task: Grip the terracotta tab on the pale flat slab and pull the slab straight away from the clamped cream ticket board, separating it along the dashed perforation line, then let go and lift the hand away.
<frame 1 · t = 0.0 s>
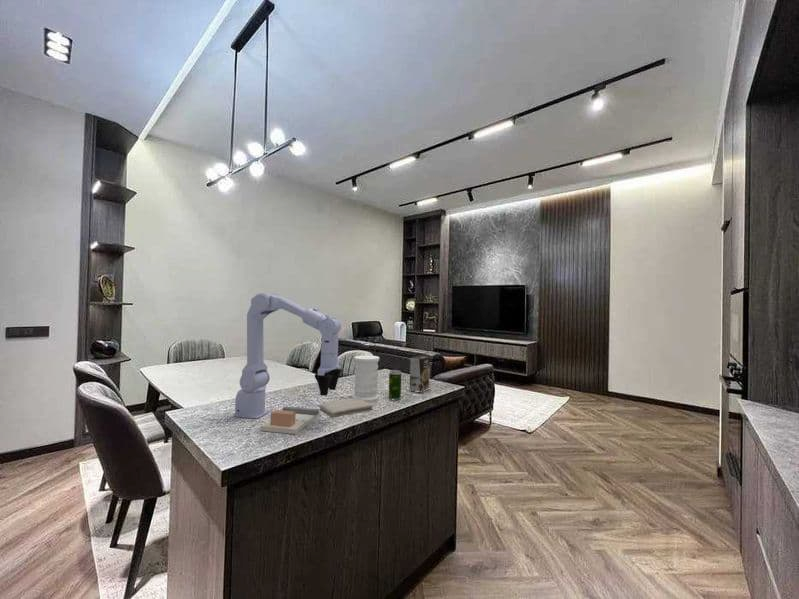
hand: (328, 392, 118), 10 cm above the countertop, tool pointing down, fingers open, 7 cm apart
coffee box: (419, 390, 165), on the countertop
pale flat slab: (283, 420, 110), point 3 cm above the countertop, slide at 0.0 cm
ticket board: (297, 418, 120), on the countertop
washcloth: (346, 411, 132), on the countertop
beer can: (394, 398, 149), on the countertop
decorative container: (365, 399, 148), on the countertop
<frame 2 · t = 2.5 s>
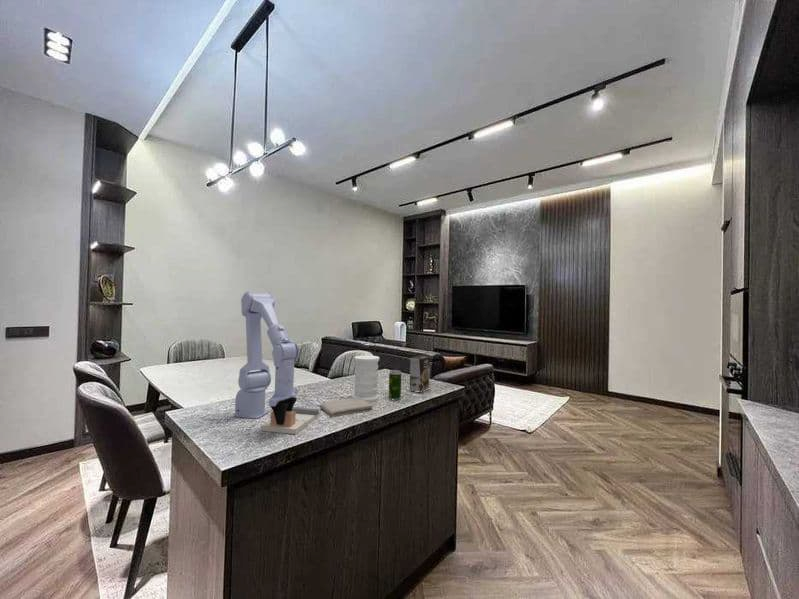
hand: (282, 422, 110), 2 cm above the countertop, tool pointing down, fingers closed on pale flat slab, 3 cm apart
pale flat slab: (283, 420, 110), point 3 cm above the countertop, slide at 0.0 cm, touching gripper
everything else where it was.
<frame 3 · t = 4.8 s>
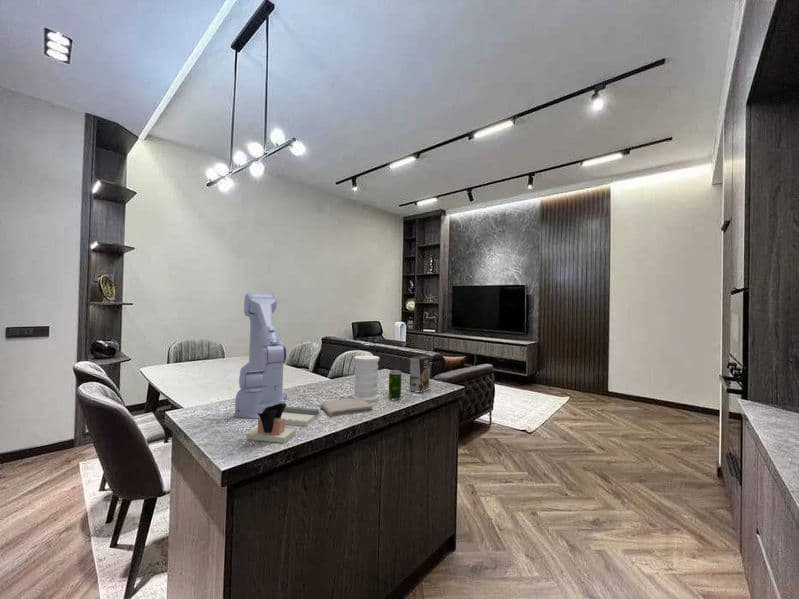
hand: (271, 430, 103), 2 cm above the countertop, tool pointing down, fingers closed on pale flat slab, 3 cm apart
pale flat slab: (272, 427, 103), point 3 cm above the countertop, slide at 7.0 cm, touching gripper
everything else where it was.
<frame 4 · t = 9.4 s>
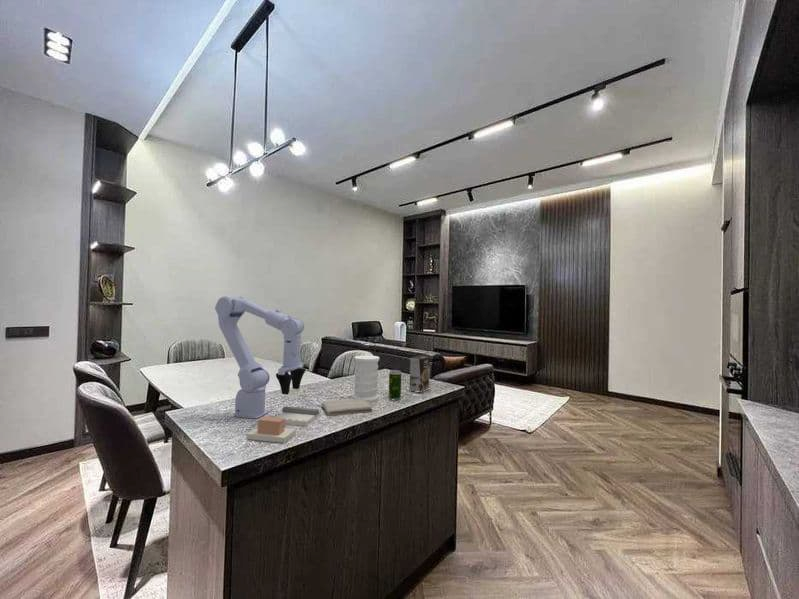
hand: (290, 391, 121), 9 cm above the countertop, tool pointing down, fingers open, 7 cm apart
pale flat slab: (272, 427, 103), point 3 cm above the countertop, slide at 7.0 cm
at the end: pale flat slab slide at 7.0 cm; the gripper is holding nothing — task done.
